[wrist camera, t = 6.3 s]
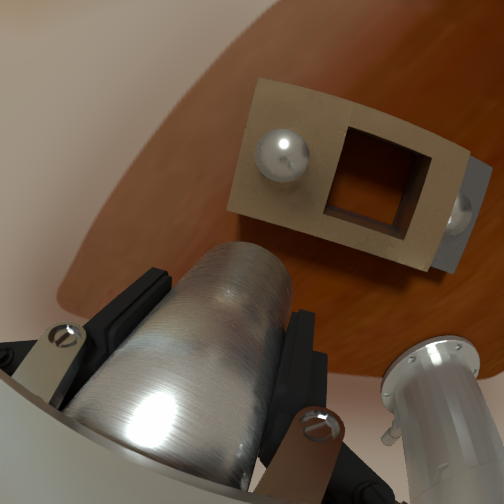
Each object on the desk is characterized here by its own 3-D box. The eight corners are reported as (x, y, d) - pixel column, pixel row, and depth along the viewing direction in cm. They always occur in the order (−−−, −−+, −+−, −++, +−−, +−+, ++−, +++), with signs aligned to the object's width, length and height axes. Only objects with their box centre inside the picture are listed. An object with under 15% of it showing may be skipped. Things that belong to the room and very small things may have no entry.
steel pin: (279, 342, 14) (220, 554, 5) (189, 316, 14) (68, 489, 5) (304, 257, 12) (255, 513, 3) (200, 230, 13) (11, 396, 4)
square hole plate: (482, 165, 21) (511, 173, 16) (445, 265, 25) (466, 289, 20) (266, 85, 23) (255, 74, 18) (239, 199, 26) (222, 213, 22)
